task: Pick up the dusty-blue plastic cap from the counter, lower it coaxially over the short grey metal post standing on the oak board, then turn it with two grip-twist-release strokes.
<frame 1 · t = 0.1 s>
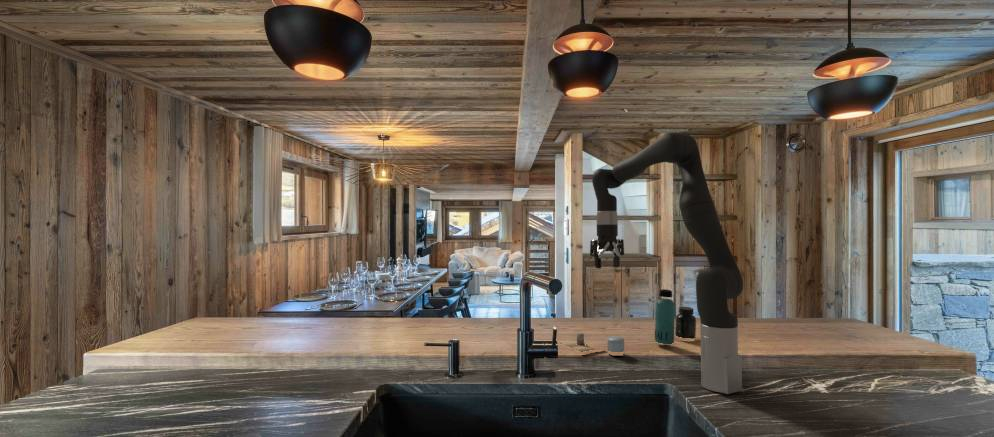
hand: (607, 267, 162), 27 cm above the counter, tool pointing down, fingers open, 8 cm apart
board: (582, 349, 152), on the counter
cap: (616, 354, 145), on the counter
beverage bottle: (664, 347, 154), on the counter
supplement bottle: (685, 340, 162), on the counter
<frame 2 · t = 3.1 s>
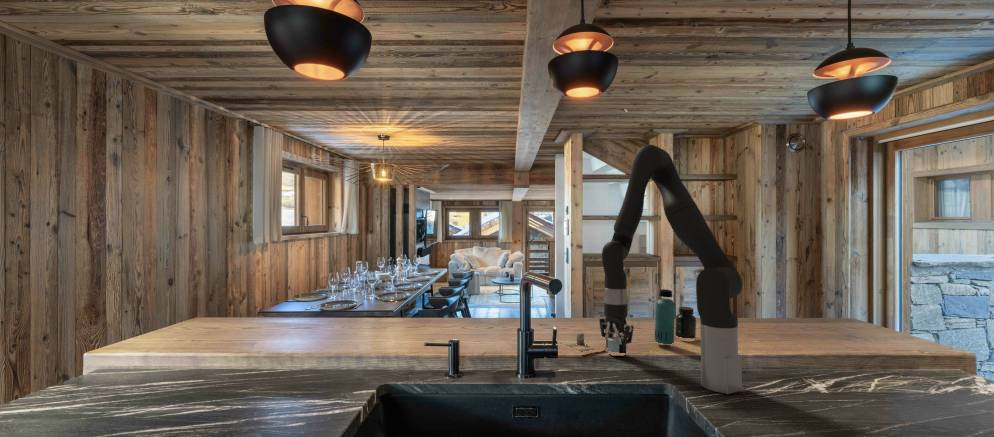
hand: (616, 353, 146), 0 cm above the counter, tool pointing down, fingers closed on cap, 5 cm apart
cap: (616, 354, 146), on the counter, touching gripper
everything else where it was.
when the fingers open (3 cm above the counter, at t = 7.2 s): cap stays where it is, resting on board.
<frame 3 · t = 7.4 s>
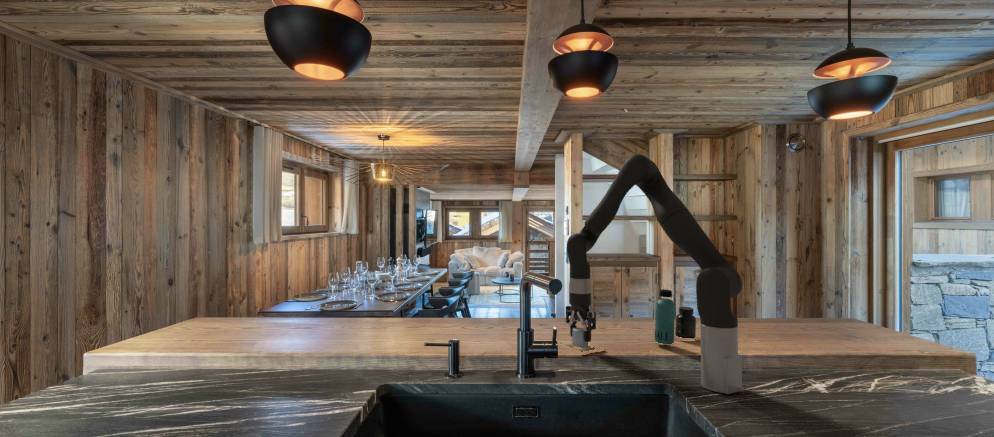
hand: (580, 338, 153), 3 cm above the counter, tool pointing down, fingers open, 7 cm apart
cap: (580, 344, 152), point 1 cm above the counter, touching board
everything else where it was.
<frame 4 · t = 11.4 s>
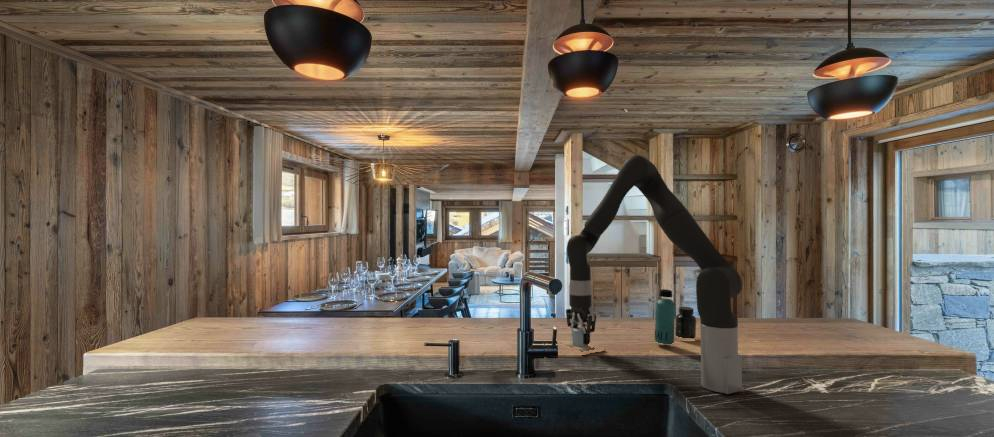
hand: (580, 341, 153), 2 cm above the counter, tool pointing down, fingers closed on cap, 5 cm apart
cap: (580, 344, 152), point 2 cm above the counter, touching board, gripper
everything else where it was.
when the fingers open (2 cm above the counter, at t = 12.9 s): cap stays where it is, resting on board.
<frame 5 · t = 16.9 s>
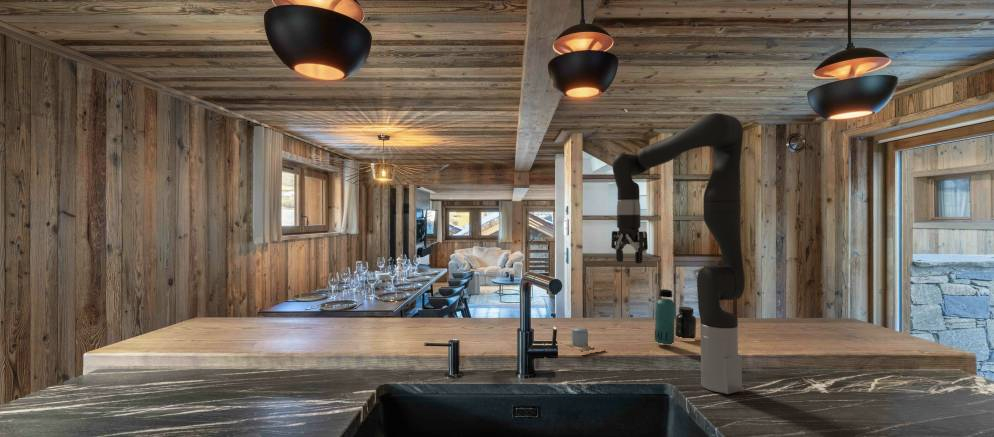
hand: (628, 262, 147), 30 cm above the counter, tool pointing down, fingers open, 8 cm apart
cap: (579, 344, 153), point 1 cm above the counter, touching board
everything else where it was.
at the end: cap 0.1 cm from the target spot on the board, point 1.5 cm above the board's base; cap tilted 0°; the gripper is holding nothing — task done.
